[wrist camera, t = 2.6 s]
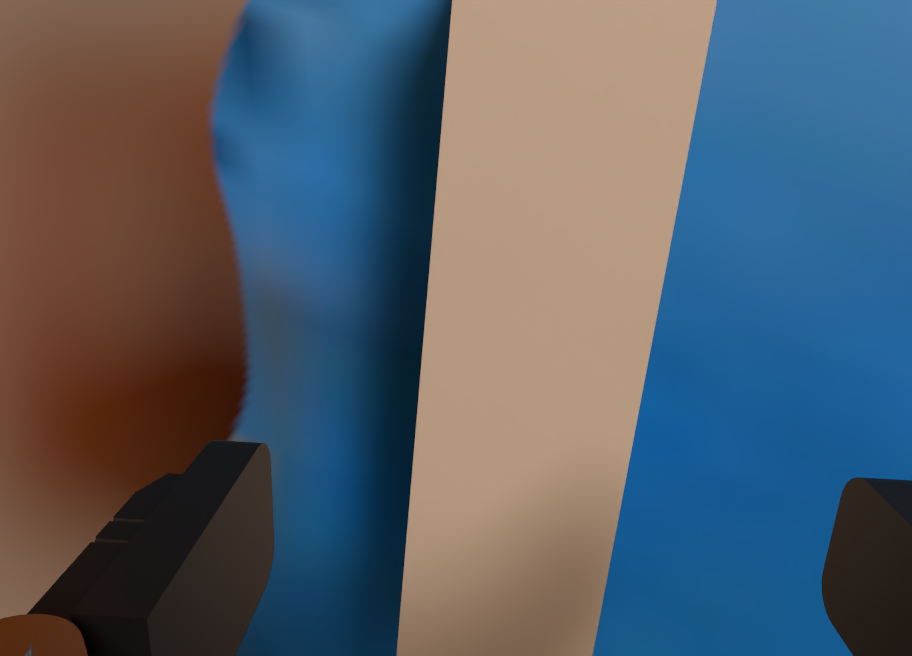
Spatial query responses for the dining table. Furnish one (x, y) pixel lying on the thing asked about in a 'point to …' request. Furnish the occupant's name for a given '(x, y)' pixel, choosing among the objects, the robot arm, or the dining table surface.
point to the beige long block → (541, 311)
